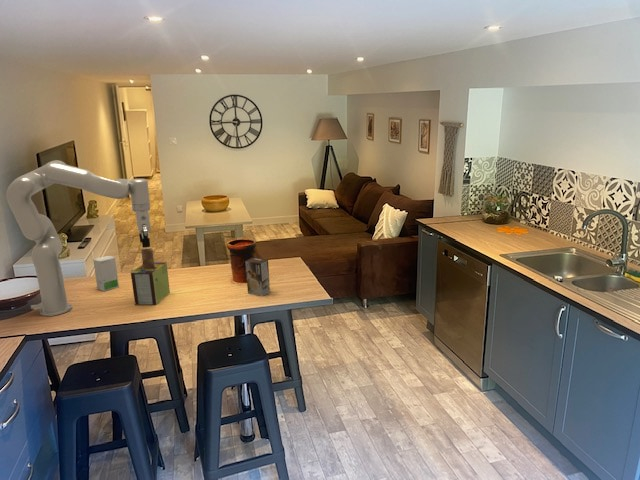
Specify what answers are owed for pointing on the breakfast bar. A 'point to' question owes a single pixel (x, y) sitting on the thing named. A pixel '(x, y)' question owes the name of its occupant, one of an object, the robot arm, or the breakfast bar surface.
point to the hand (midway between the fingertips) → (145, 244)
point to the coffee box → (257, 276)
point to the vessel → (240, 258)
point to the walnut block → (147, 258)
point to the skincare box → (106, 273)
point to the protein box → (150, 284)
